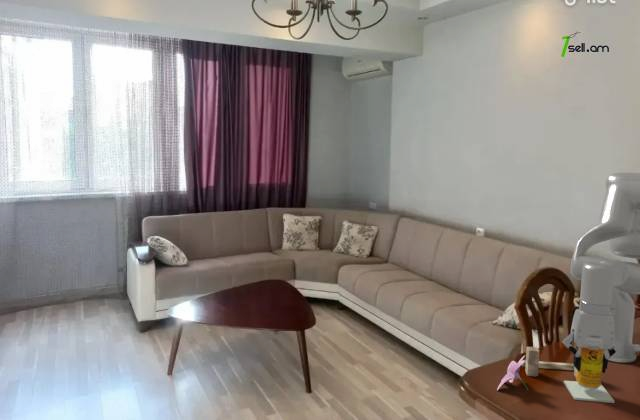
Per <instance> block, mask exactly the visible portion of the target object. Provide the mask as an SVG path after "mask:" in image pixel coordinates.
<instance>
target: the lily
mask: <svg viewBox="0 0 640 420" xmlns="http://www.w3.org/2000/svg"><path fill="white" fill-rule="evenodd" d="M524 358H526V355H523V356H522V357H521V358H520V359H519V361H517V362H516V361H514V360H512V361H511V362H510V363H509V365H508V367H507V369H506V372H507V373H506V374H505V375H504V376H503V378H502V379H501V380H500V381H501V382H500V383H499V385H498V386H497V389H496V391H498V390H499V389H500V388H501V387H502V386H503V384H504V383H506V382H509V383H513V382H514V380H520V382H522V384H523V386H525V388H526V390H527V391H529V388H528V386H527V385H526V383H525V382H524V381H523V380H522V378H521V376H520V368H521V366H522V364H523V363H524V362H525V361H524V360H525V359H524ZM522 360H523V361H522Z"/></svg>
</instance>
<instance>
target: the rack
mask: <svg viewBox="0 0 640 420" xmlns="http://www.w3.org/2000/svg"><path fill="white" fill-rule="evenodd" d="M525 351H526V352H525V359H523V360H524V361H525V362H524V363H523V364H522V365H521V366H522V367H524V368H525V369H524V370H525V373H526V376H527V377H536V376H537V377H539V369H550V370H551V369H552V370H561V371H562V370H564V371H574V372H573V376H574V377H575V378H576V377H577V369H576V368H575V367H574V365H573V363H568V362H555V361H554V362H553V361H542V360H541V361H540V350H539V348H538V347H537V346H526V349H525ZM523 360H522V361H523Z"/></svg>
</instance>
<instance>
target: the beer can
mask: <svg viewBox="0 0 640 420" xmlns="http://www.w3.org/2000/svg"><path fill="white" fill-rule="evenodd" d="M603 354H604V340H603V339H602V337H599V338H597V337H590V336H588V337H587V338H586V339H585V343H584V347H583V348H581V355H580V357H581V367H580V371H578V370H577V377H575V379H576V381H577V382H578V384H579V385H580V386H582V387H584V388H587V389H598V387H600V386H601V384H602V374H603V372H602V366H603Z"/></svg>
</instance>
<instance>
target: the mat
mask: <svg viewBox="0 0 640 420" xmlns="http://www.w3.org/2000/svg"><path fill="white" fill-rule="evenodd" d="M563 384H564V386H565V387H566V389H567V390H568V392H569V394H570V395H571V396H572V398H573V400H576V401H584V402H585V401H587V402H597V403H599V402H600V403H612V404H615V399H614V398H613V397H612V396H611V395H610V393H609V392H608V391H607V390H606V388H605V387H604V386H603V385H602V383H601V386H600V387H598V389H587V388H584V387H582V386H580V385H579V384H578V382H577V381H575V380H574V381H573V380H563Z"/></svg>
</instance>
